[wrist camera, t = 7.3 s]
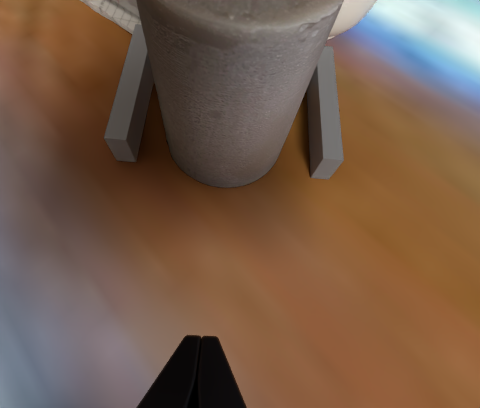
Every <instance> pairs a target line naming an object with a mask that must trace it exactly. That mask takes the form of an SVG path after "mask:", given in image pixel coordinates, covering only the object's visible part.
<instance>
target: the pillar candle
mask: <svg viewBox="0 0 480 408" xmlns="http://www.w3.org/2000/svg"><path fill="white" fill-rule="evenodd" d="M343 1H344V0H136V2H137V7H138V11H139V16H140V21H141V25H142V29H143V33H144V37H145V42H146V46H147V52H148V56H149V60H150V65H151V70H152V75H153V79H154V83H155V86H156V91H157V93H158V100H159V104H160V109H161V114H162V119H163V123H164V127H165V131H166V138H167V143H168V145H169V149H170V152H171V156H172V158H173V160H174V161H175V163H176V164H177V165H178V166H179V167H180V169H181V170H182V171H184V172H185V173H186V174H187V175H189V176H190V177H192V178H193V179H196V180H197V181H199V182H201V183H204V184H206V185H210V186H215V187H226V188H231V187H238V186H243V185H246V184H249V183H252V182H254V181H256V180H258V179H259V178H261V177H262V176H264V175H265V174H266V173H267V172H268V171H269V170H270V169H271V168H272V167H273V165H274V164H275V162H276V160H277V158H278V156H279V154H280V152H281V149H282V147H283V144H284V142H285V140H286V138H287V135H288V133H289V131H290V128H291V126H292V123H293V121H294V119H295V116H296V114H297V112H298V109H299V107H300V104H301V102H302V99H303V97H304V94H305V92H306V89H307V87H308V85H309V82H310V80H311V78H312V75H313V73H314V70H315V68H316V65H317V63H318V61H319V58H320V56H321V54H322V51H323V49H324V46H325V44H326V41H327V39H328V37H329V34H330V32H331V30H332V27H333V25H334V23H335V20H336V18H337V16H338V13H339V11H340V9H341V7H342V4H343Z"/></svg>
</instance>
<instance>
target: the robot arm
mask: <svg viewBox="0 0 480 408" xmlns="http://www.w3.org/2000/svg"><path fill="white" fill-rule="evenodd" d="M137 408H247V407H246V405H245V402H244V400H243V398H242V395H241V393H240V390H239V388H238V385H237V383H236V380H235V378H234V376H233V373H232V371H231V368H230V366H229V363H228V361H227V358H226V356H225V353H224V351H223V349H222V346H221V344H220V341H219V339H218V337H216V336H203V337H202V339H201V336H197V335H187V336H185V337H184V338H183V340H182V341H181V343H180V344H179V346H178V347H177V349H176V350H175V352H174V353H173V355H172V356H171V358H170V359H169V361H168V362H167V364H166V365H165V367H164V368H163V369H162V371H161V372H160V374H159V375H158V377H157V378H156V380H155V381H154V383H153V384H152V386H151V387H150V389H149V390H148V392H147V393H146V395H145V396H144V398H143V399H142V400H141V402H140V403H139V405H138V406H137Z"/></svg>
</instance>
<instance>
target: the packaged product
mask: <svg viewBox="0 0 480 408" xmlns="http://www.w3.org/2000/svg"><path fill="white" fill-rule="evenodd" d="M80 1H82V2H84V3H85V4H86V5H88V6H89V7H90V8H92V9H93V10H94V11H96V12H97V13H99V14H100V15H102V16H104V17H106V18H108V19H109V20H111V21H113V22H115V23H116V24H117V25H119V26H120V27H122V28H123V29H125V30H127V31H128V32H130V33H131V34H133V31H134V28H135V24H140V25H141V21H140V16H139V11H138V7H137V2H136V0H80Z"/></svg>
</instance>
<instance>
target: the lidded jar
mask: <svg viewBox="0 0 480 408" xmlns="http://www.w3.org/2000/svg"><path fill="white" fill-rule="evenodd" d="M376 1H377V0H344V1H343V4H342V7H341V9H340V11H339V13H338V16H337V18H336V20H335V23H334V25H333V27H332V30H331V32H330V34H329V37H328V39H327V40H329V39H332V38H334V37H335V36H336V35H339V34H341V33H343V32H346V31H347V30H349V29H351V28H352V27H354V26H355V25H356V24H357V23H359V22H360V21H361V20H362V19H363V18H364V17H365V16H366V15H367V13H368V12H369V11H370V10H371V8H372V7H373V6H374V4H375V3H376Z"/></svg>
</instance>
